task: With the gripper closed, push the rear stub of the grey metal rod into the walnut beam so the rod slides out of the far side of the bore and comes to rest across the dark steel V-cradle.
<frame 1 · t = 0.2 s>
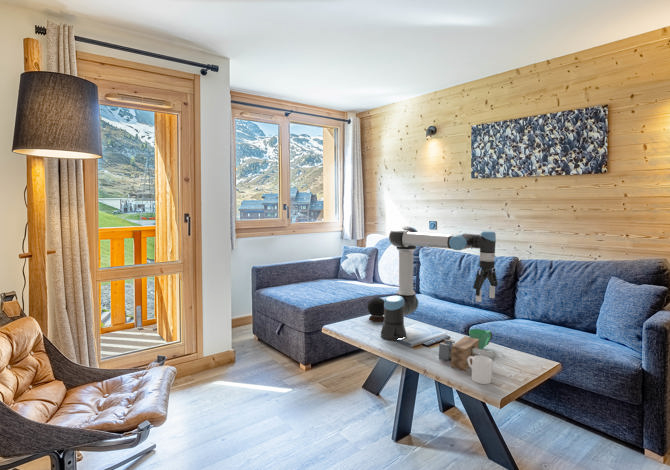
hand: (485, 299, 209), 28 cm above the table, fingers open, 13 cm apart
beam: (464, 362, 195), on the table
mug 2: (477, 378, 177), on the table
mug: (480, 349, 213), on the table
black ball on base: (377, 319, 266), on the table
axle: (472, 351, 192), point 7 cm above the table, slide at 0.0 cm
cradle: (446, 357, 201), on the table
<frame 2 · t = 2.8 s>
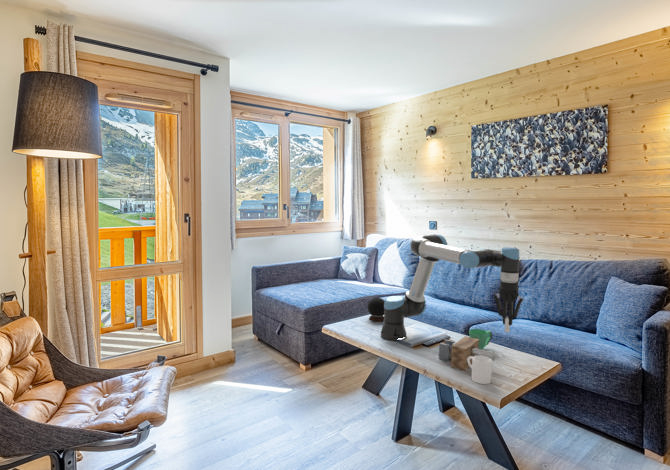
hand: (507, 331, 181), 20 cm above the table, fingers closed
nothing on the table moved.
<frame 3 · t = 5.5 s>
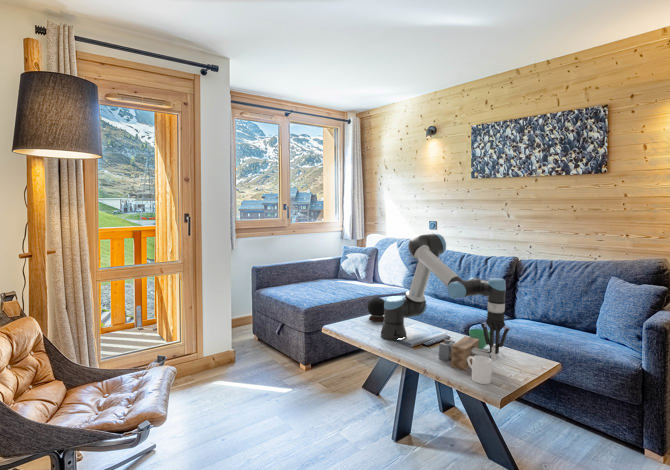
hand: (493, 359, 186), 5 cm above the table, fingers closed
axle: (469, 350, 193), point 7 cm above the table, slide at 1.6 cm, touching gripper
everything else where it was.
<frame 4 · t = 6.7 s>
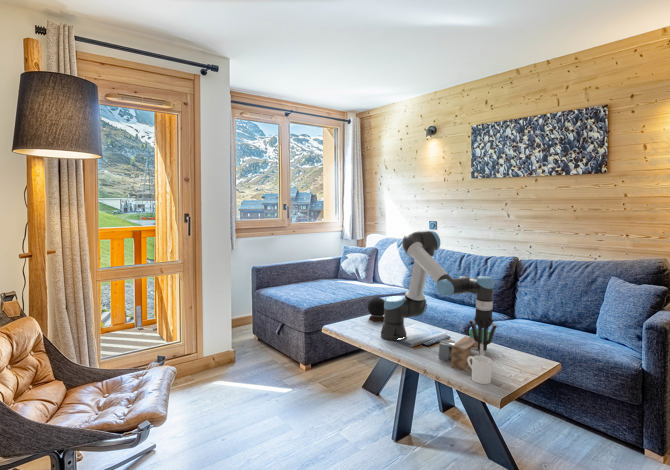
hand: (482, 356, 189), 5 cm above the table, fingers closed
axle: (459, 348, 196), point 7 cm above the table, slide at 6.4 cm
everything else where it was.
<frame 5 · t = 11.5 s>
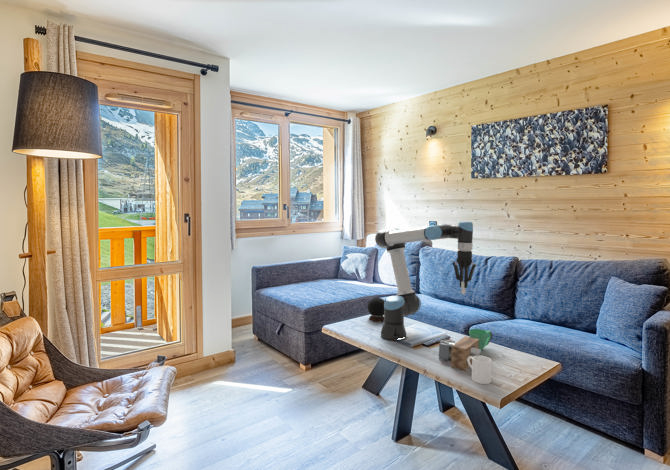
hand: (463, 293, 213), 30 cm above the table, fingers closed
nothing on the table moved.
at the end: axle slide at 6.4 cm; axle 0.1 cm from the target spot, resting on cradle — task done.
